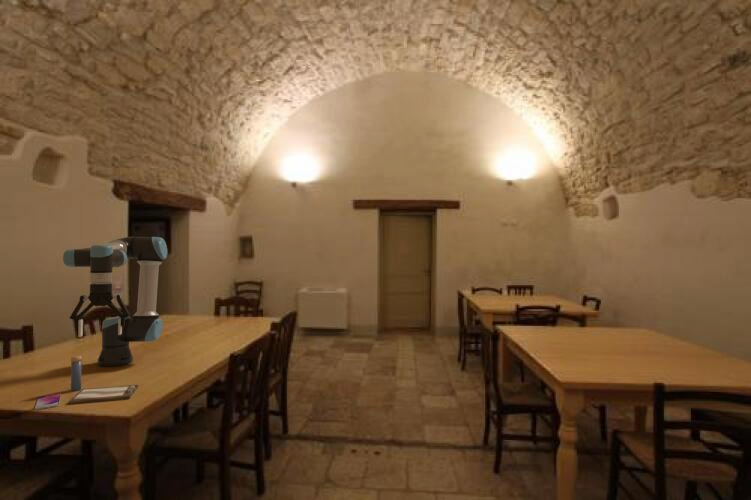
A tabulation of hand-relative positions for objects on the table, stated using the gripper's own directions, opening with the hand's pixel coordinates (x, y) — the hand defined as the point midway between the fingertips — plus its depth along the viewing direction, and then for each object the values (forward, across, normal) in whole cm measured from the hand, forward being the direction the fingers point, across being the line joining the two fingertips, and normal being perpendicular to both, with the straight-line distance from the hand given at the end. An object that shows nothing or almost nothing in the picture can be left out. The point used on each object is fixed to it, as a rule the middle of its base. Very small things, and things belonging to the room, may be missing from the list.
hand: (100, 335), depth 163 cm
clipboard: (+23, +3, -5) cm, 24 cm away
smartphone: (+24, -15, -7) cm, 29 cm away
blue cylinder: (+23, -10, +5) cm, 25 cm away
